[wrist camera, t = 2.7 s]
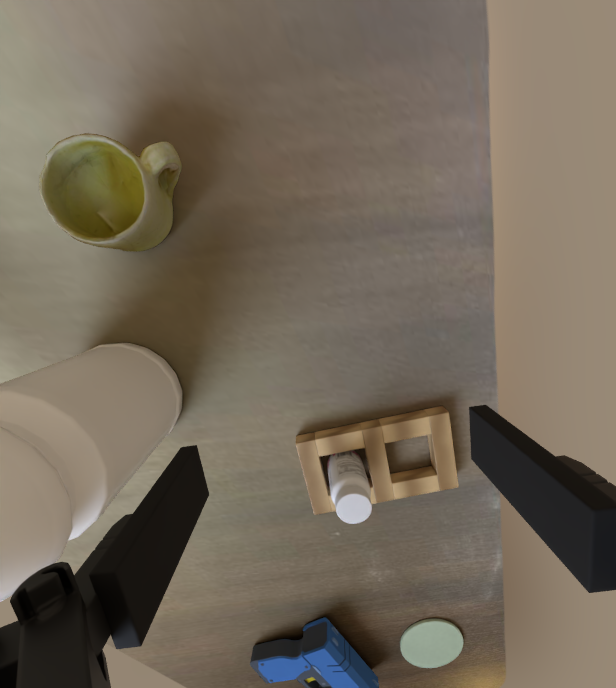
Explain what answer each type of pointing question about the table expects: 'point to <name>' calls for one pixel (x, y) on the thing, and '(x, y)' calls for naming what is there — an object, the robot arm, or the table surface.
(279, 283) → the table surface
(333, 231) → the table surface
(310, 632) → the stun gun
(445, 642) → the coaster
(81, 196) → the mug
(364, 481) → the pill bottle
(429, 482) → the frame
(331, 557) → the table surface
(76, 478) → the bottle
